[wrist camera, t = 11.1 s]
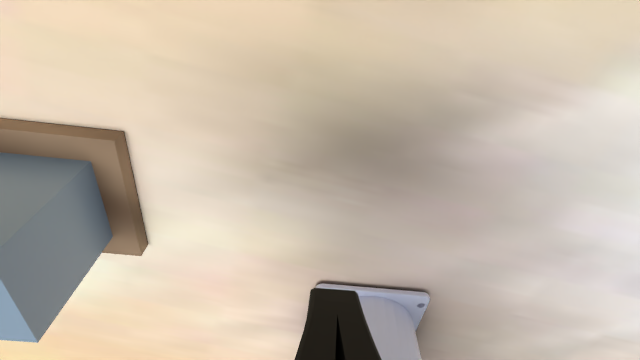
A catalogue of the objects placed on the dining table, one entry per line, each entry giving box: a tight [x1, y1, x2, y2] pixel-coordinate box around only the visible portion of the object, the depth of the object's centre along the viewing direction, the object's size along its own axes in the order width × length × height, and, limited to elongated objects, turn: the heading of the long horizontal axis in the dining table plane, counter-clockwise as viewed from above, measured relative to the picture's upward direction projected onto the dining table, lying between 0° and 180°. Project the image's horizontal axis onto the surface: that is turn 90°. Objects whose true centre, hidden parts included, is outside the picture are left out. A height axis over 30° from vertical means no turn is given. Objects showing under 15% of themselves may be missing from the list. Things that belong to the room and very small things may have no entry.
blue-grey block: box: [0, 152, 113, 342], centre depth 16 cm, size 5×5×7 cm
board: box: [0, 118, 148, 256], centre depth 20 cm, size 8×8×1 cm
